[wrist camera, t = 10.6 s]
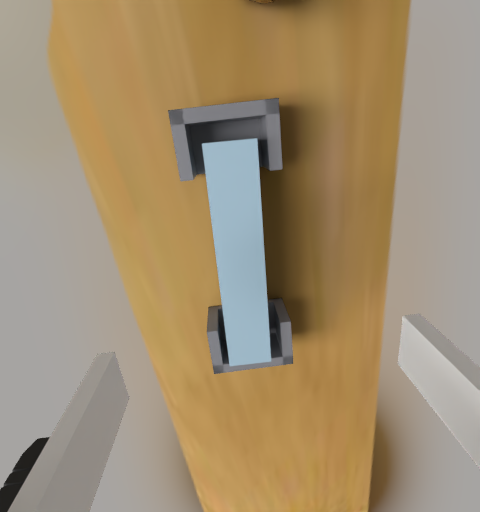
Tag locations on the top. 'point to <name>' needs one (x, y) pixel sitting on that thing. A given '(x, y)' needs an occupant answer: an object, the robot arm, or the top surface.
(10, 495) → the robot arm
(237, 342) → the slat
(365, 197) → the top surface
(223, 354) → the end caps
